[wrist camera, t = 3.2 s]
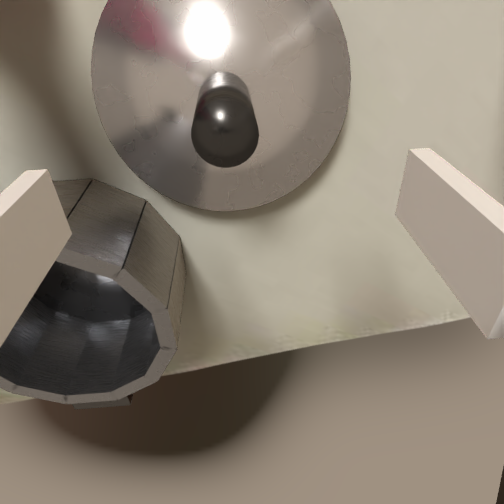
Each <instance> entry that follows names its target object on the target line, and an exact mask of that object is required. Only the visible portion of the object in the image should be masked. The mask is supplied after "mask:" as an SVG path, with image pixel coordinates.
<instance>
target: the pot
mask: <svg viewBox="0 0 504 504" xmlns="http://www.w3.org/2000/svg"><path fill="white" fill-rule="evenodd" d="M52 182H53V184H54V187H55V190H56V192H57V195H58V198H59V200H60V203H61V206H62V208H63V211H64V214H65V216H66V219H67V222H68V224H69V227H70V230H71V232H72V235H71V237H70V238H69V240H68V241H67V243H66V244H65V246H64V248H63V249H62V251H61V252H60V254H59V255H58V257H57V259H56V260H55V262H54V263H53V265H52V267H51V268H50V270H49V271H48V273H47V274H46V276H45V278H44V279H43V281H42V282H41V284H40V286H39V287H38V289H37V290H36V292H35V293H34V295H33V297H32V298H31V300H30V301H29V303H28V305H27V306H26V308H25V309H24V311H23V312H22V314H21V316H20V317H19V319H18V320H17V322H16V323H15V325H14V327H13V328H12V330H11V331H10V333H9V335H8V336H7V338H6V339H5V341H4V342H3V344H2V346H1V347H0V387H1V388H2V389H4V390H6V391H8V392H11V391H12V392H11V393H14V394H19V395H24V396H29V397H34V398H38V399H43V400H48V401H53V402H58V403H63V404H65V403H67V404H72V405H73V407H74V408H75V409H86V408H99V407H112V406H124V405H131V401H132V396H133V394H132V393H134V392H136V391H138V390H140V389H143V388H144V387H147V386H149V385H151V384H153V383H155V382H157V381H158V380H159V378H160V377H161V375H162V374H163V372H164V370H165V369H166V367H167V365H168V364H169V362H170V360H171V359H172V357H173V355H174V354H175V352H176V351H177V346H178V338H179V330H180V322H181V314H182V306H183V297H184V289H185V281H186V268H185V263H184V257H183V252H182V246H181V241H180V237H179V235H178V234H177V233H176V232H175V231H174V230H173V229H172V227H171V226H170V225H169V224H168V223H167V222H166V221H165V220H164V219H163V218H162V217H161V215H160V214H159V213H158V212H157V211H156V210H155V209H154V208H153V207H152V206H151V205H150V203H149V202H148V201H146V202H145V199H142V198H140V197H137V196H135V195H132V194H130V193H127V192H125V191H122V190H120V189H117V188H115V187H112V186H110V185H107V184H105V183H102V182H100V181H97V180H95V179H94V180H92V179H80V180H64V181H52Z"/></svg>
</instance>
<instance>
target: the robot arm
mask: <svg viewBox="0 0 504 504" xmlns="http://www.w3.org/2000/svg"><path fill="white" fill-rule="evenodd" d="M395 215H396V217H397V218H398V220H399V221H400V222H401V224H402V225H403V226H404V228H405V229H406V230H407V232H408V233H409V234H410V236H411V237H412V238H413V240H414V241H415V242H416V244H417V245H418V246H419V248H420V249H421V251H422V252H423V253H424V255H425V256H426V257H427V259H428V260H429V261H430V263H431V264H432V265H433V267H434V268H435V269H436V271H437V272H438V273H439V275H440V276H441V278H442V279H443V280H444V282H445V283H446V284H447V286H448V287H449V288H450V290H451V291H452V292H453V294H454V295H455V296H456V298H457V299H458V300H459V302H460V303H461V304H462V306H463V307H464V309H465V310H466V311H467V313H468V314H469V315H470V317H471V318H472V319H473V321H474V322H475V323H476V325H477V326H478V327H479V329H480V330H481V331H482V333H483V334H484V335H485V337H486V338H487V339H497V338H504V206H502V205H501V204H500V203H499V202H497V201H496V200H495V199H493V198H492V197H491V196H490V195H488V194H487V193H486V192H485V191H483V190H482V189H481V188H480V187H478V186H477V185H476V184H474V183H473V182H472V181H471V180H469V179H468V178H467V177H466V176H464V175H463V174H462V173H461V172H459V171H458V170H457V169H455V168H454V167H453V166H452V165H450V164H449V163H448V162H447V161H445V160H444V159H443V158H441V157H440V156H439V155H438V154H436V153H435V152H434V151H433V150H431V149H430V148H423V149H409V152H408V156H407V161H406V166H405V170H404V175H403V180H402V184H401V189H400V194H399V198H398V203H397V208H396V212H395ZM71 235H72V232H71V230H70V227H69V224H68V222H67V219H66V216H65V214H64V211H63V208H62V206H61V203H60V200H59V198H58V195H57V192H56V190H55V187H54V184H53V182H52V179H51V176H50V174H49V171H48V169H43V170H26V171H25V172H24V173H23V174H22V175H21V176H19V177H18V178H17V179H16V180H15V181H14V182H13V183H12V184H11V185H10V186H8V187H7V188H6V189H5V190H4V191H3V192H2V193H1V194H0V347H1V346H2V344H3V342H4V341H5V339H6V338H7V336H8V335H9V333H10V331H11V330H12V328H13V327H14V325H15V323H16V322H17V320H18V319H19V317H20V316H21V314H22V312H23V311H24V309H25V308H26V306H27V305H28V303H29V301H30V300H31V298H32V297H33V295H34V293H35V292H36V290H37V289H38V287H39V286H40V284H41V282H42V281H43V279H44V278H45V276H46V274H47V273H48V271H49V270H50V268H51V267H52V265H53V263H54V262H55V260H56V259H57V257H58V255H59V254H60V252H61V251H62V249H63V248H64V246H65V244H66V243H67V241H68V240H69V238H70V237H71ZM496 504H504V467H503V472H502V477H501V482H500V487H499V492H498V497H497V502H496Z"/></svg>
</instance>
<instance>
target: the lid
mask: <svg viewBox="0 0 504 504" xmlns="http://www.w3.org/2000/svg"><path fill="white" fill-rule="evenodd" d="M91 77H92V89H93V94H94V99H95V104H96V108H97V111H98V114H99V117H100V120H101V123H102V125H103V127H104V129H105V132H106V134H107V136H108V138H109V140H110V142H111V143H112V145H113V146H114V148H115V150H116V151H117V153H118V154H119V155H120V157H121V158H122V159H123V160H124V162H125V163H126V164H127V166H128V167H129V168H130V169H131V170H132V171H133V172H134V173H135V174H136V175H137V176H138V177H139V178H140V179H142V180H143V181H144V182H145V183H147V184H148V185H149V186H151V187H152V188H153V189H155V190H157V191H158V192H160V193H161V194H163V195H165V196H167V197H169V198H171V199H173V200H175V201H177V202H180V203H183V204H186V205H188V206H191V207H196V208H200V209H205V210H214V211H237V210H245V209H250V208H254V207H258V206H262V205H264V204H267V203H270V202H272V201H275V200H277V199H279V198H281V197H283V196H285V195H286V194H288V193H289V192H291V191H292V190H294V189H295V188H297V187H298V186H299V185H301V184H302V183H303V182H304V181H305V180H307V179H308V178H309V177H310V176H311V175H312V174H313V173H314V172H315V170H316V169H317V168H318V167H319V166H320V165H321V163H322V162H323V161H324V159H325V158H326V157H327V155H328V154H329V152H330V150H331V149H332V147H333V145H334V143H335V142H336V139H337V137H338V135H339V133H340V130H341V128H342V125H343V122H344V119H345V115H346V112H347V107H348V101H349V96H350V81H351V72H350V58H349V52H348V47H347V42H346V38H345V35H344V32H343V29H342V26H341V23H340V20H339V18H338V16H337V14H336V12H335V10H334V8H333V6H332V4H331V2H330V1H329V0H108V2H107V4H106V6H105V8H104V10H103V12H102V14H101V17H100V20H99V23H98V26H97V29H96V32H95V37H94V43H93V48H92V61H91Z"/></svg>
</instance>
